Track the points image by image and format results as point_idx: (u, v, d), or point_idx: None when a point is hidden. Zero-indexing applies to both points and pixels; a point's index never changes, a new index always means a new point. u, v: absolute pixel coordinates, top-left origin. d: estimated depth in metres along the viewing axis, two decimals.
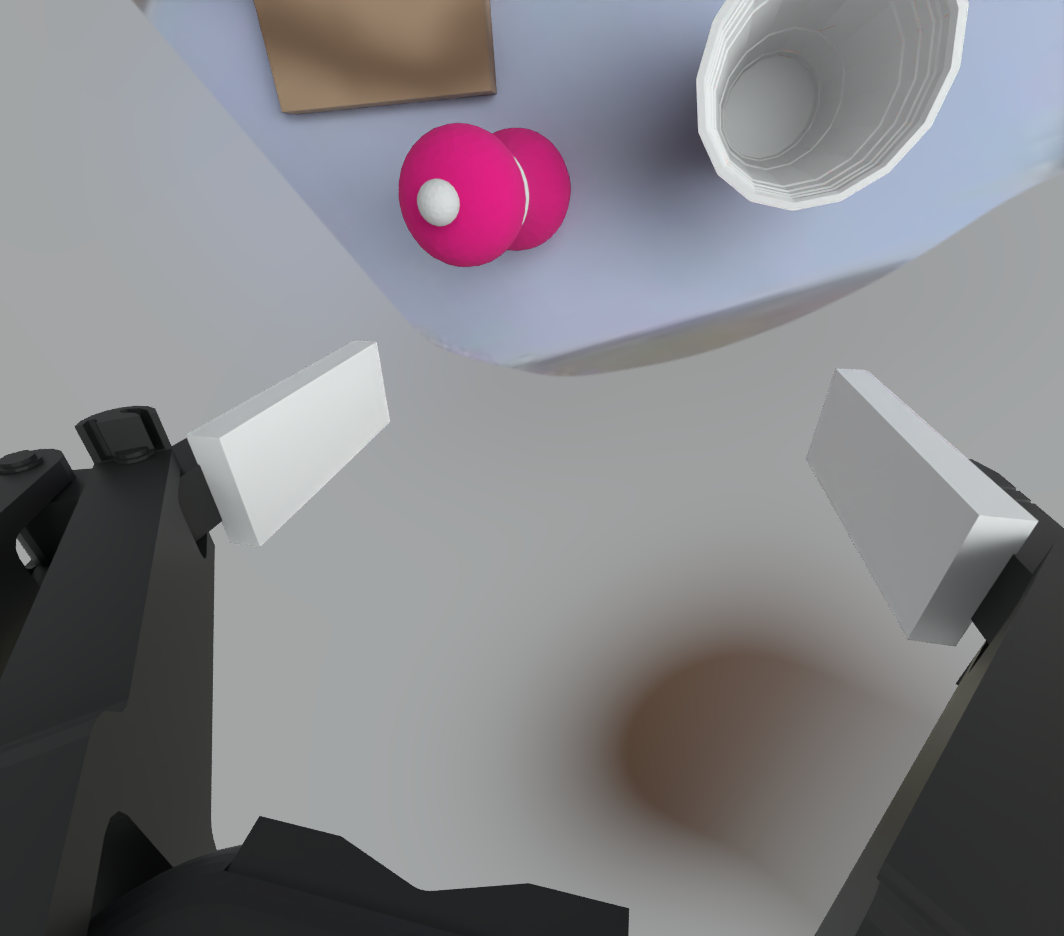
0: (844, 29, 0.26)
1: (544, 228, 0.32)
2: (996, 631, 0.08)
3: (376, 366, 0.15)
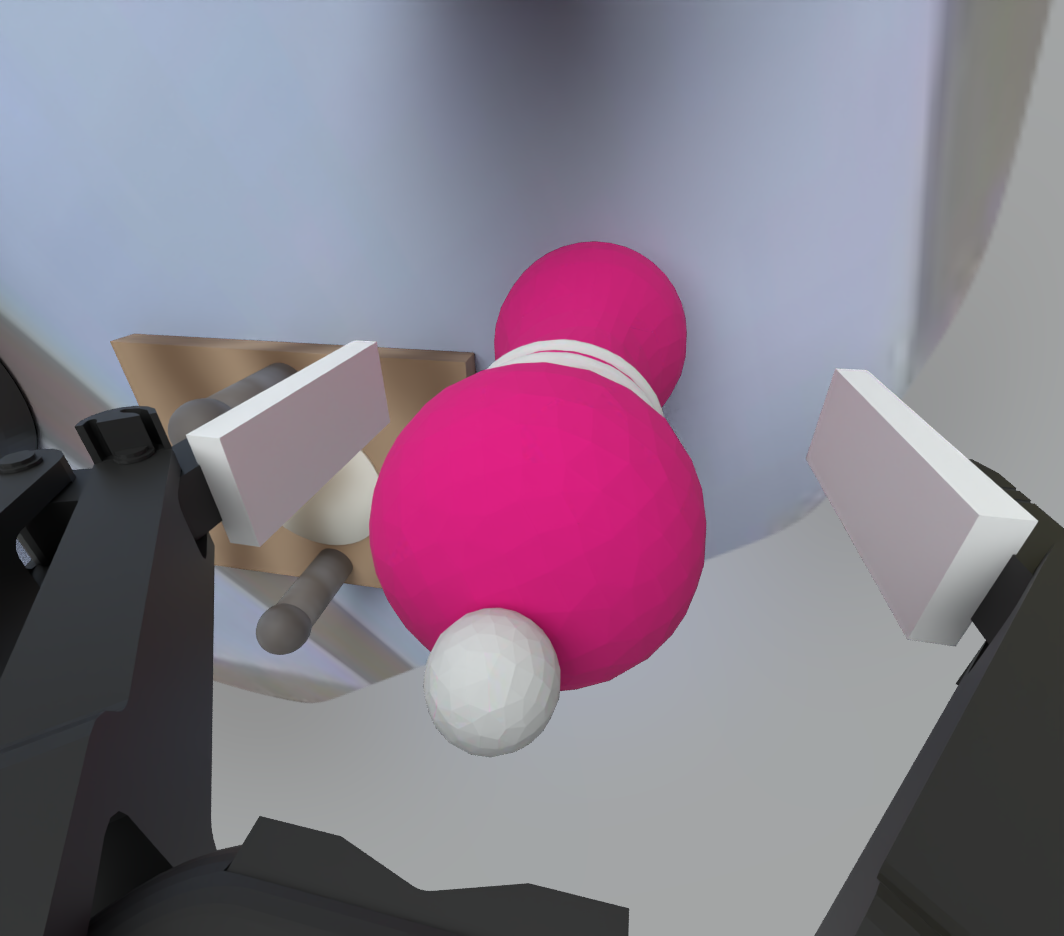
0: None
1: (652, 299, 0.15)
2: (996, 631, 0.08)
3: (376, 366, 0.15)
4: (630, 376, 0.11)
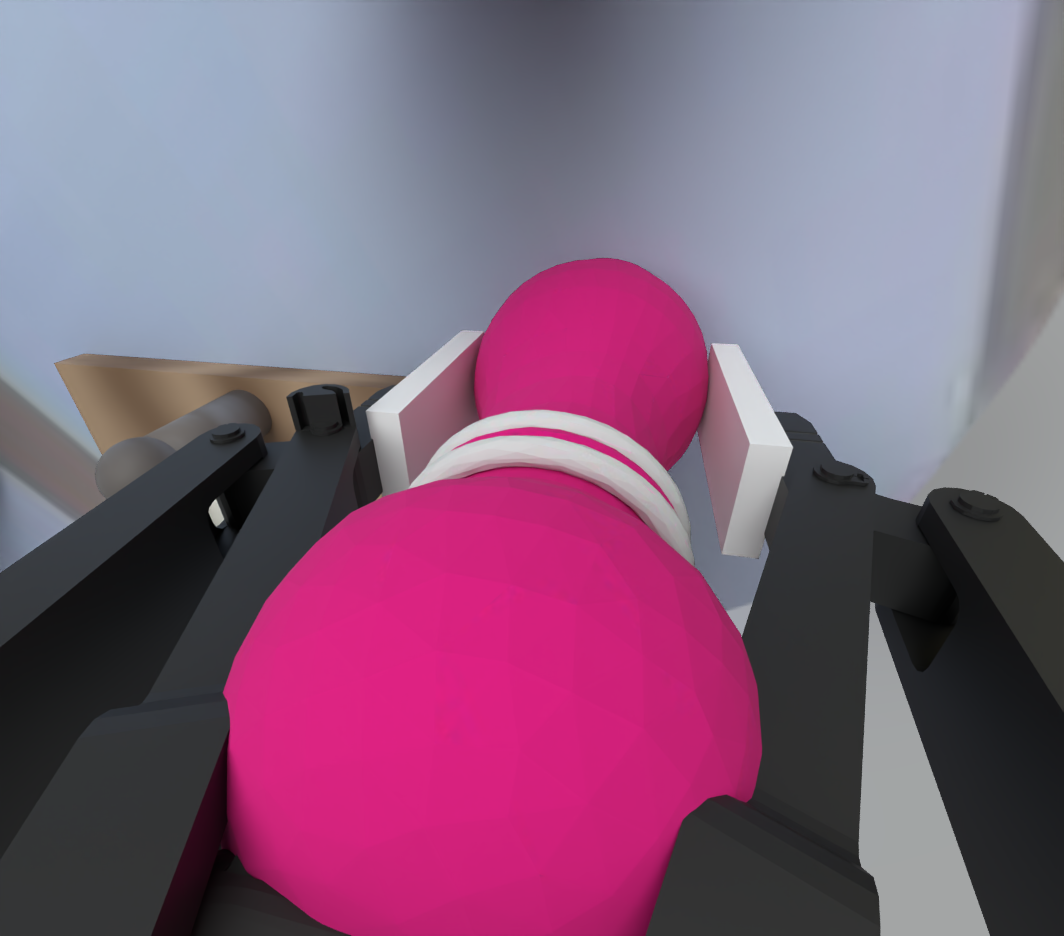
0: None
1: (668, 334, 0.12)
2: None
3: None
4: (641, 464, 0.07)
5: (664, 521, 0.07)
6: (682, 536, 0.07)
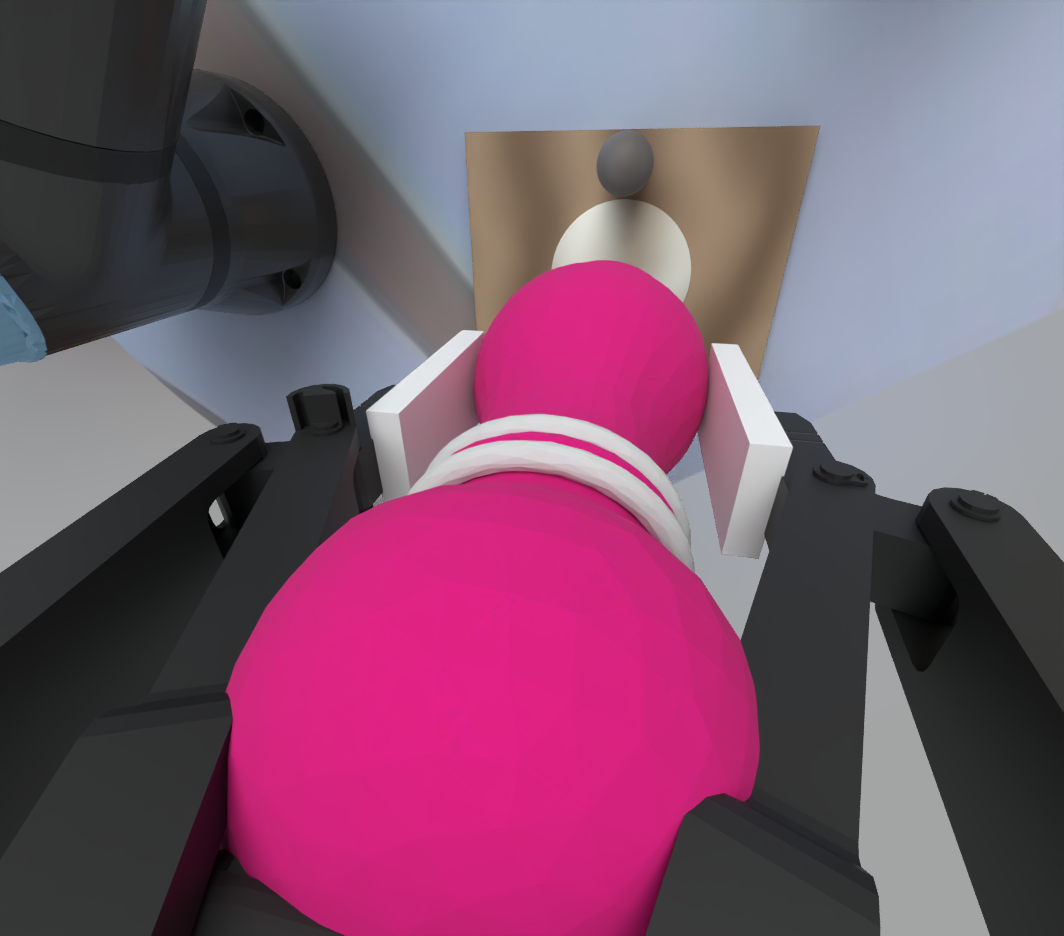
0: None
1: (668, 337, 0.12)
2: None
3: None
4: (641, 468, 0.08)
5: (664, 526, 0.07)
6: (682, 541, 0.07)
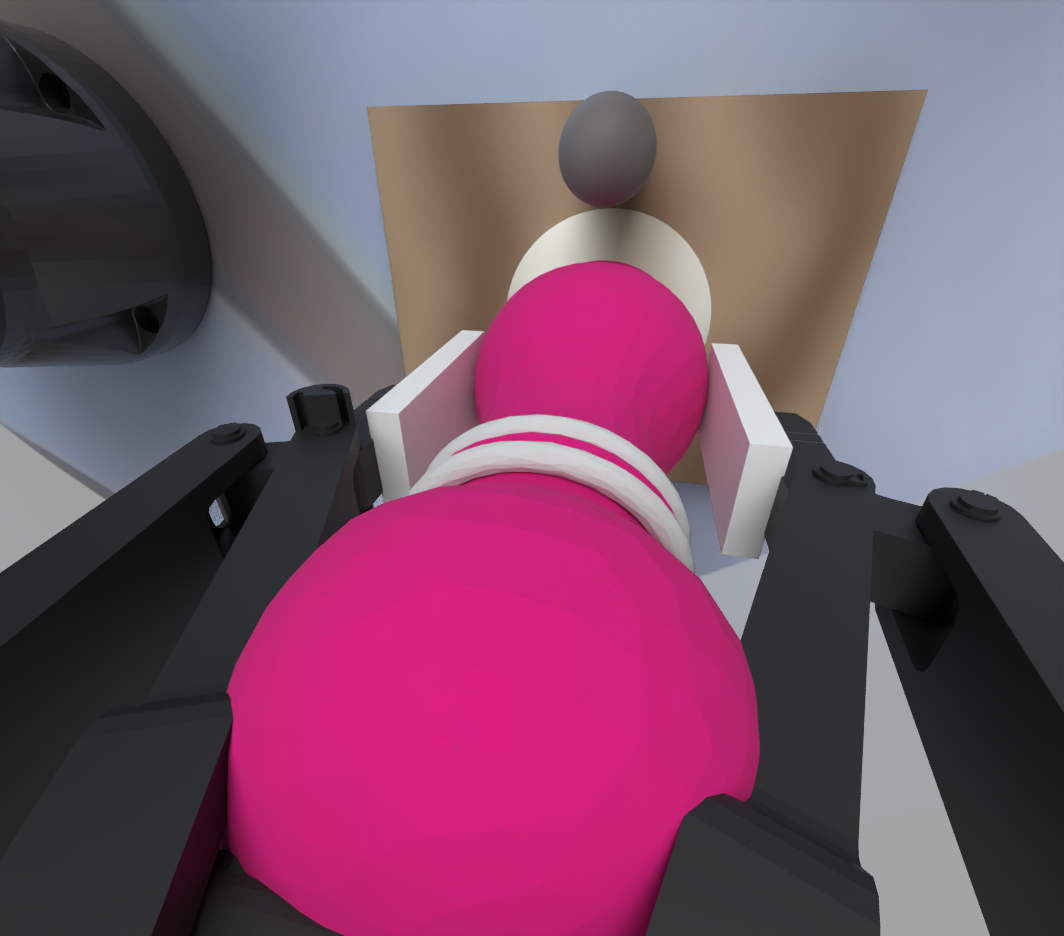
0: None
1: (668, 337, 0.12)
2: None
3: None
4: (641, 469, 0.08)
5: (664, 526, 0.07)
6: (682, 541, 0.07)
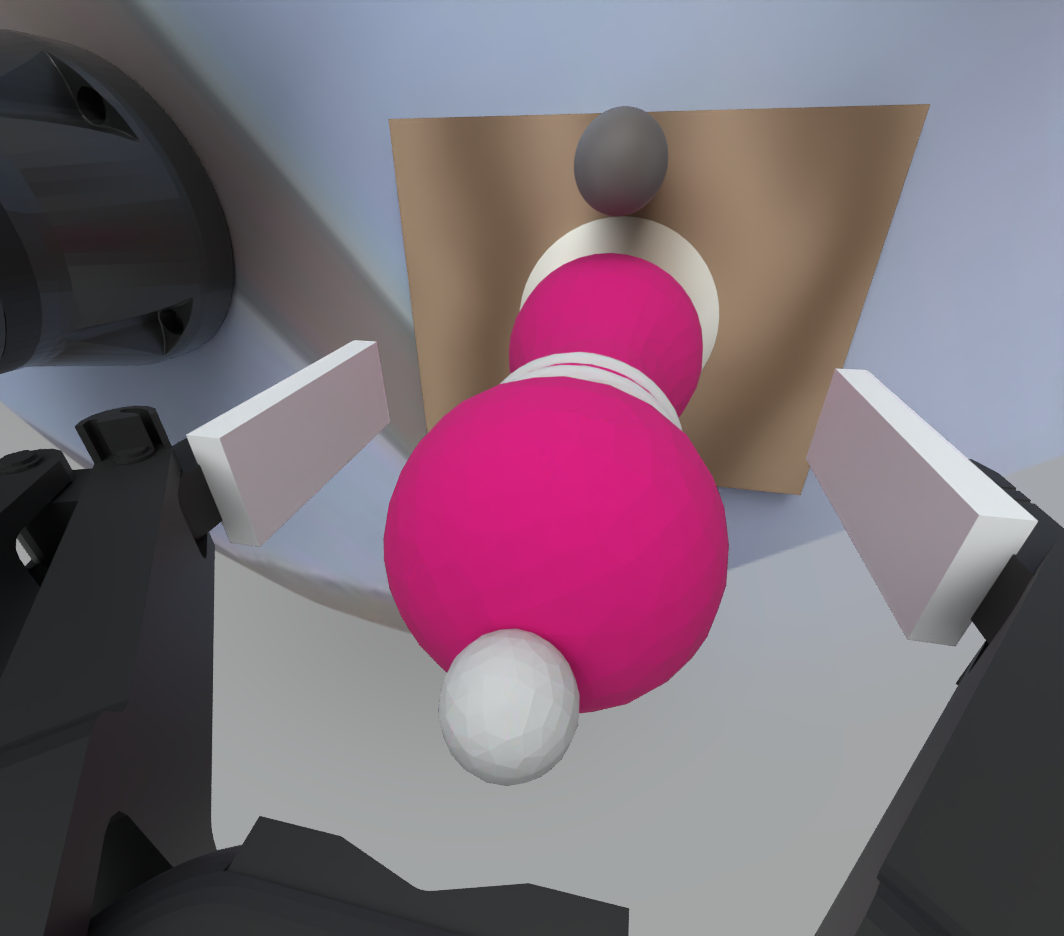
0: None
1: (670, 310, 0.15)
2: (996, 631, 0.08)
3: (376, 366, 0.15)
4: (648, 390, 0.11)
5: None
6: None
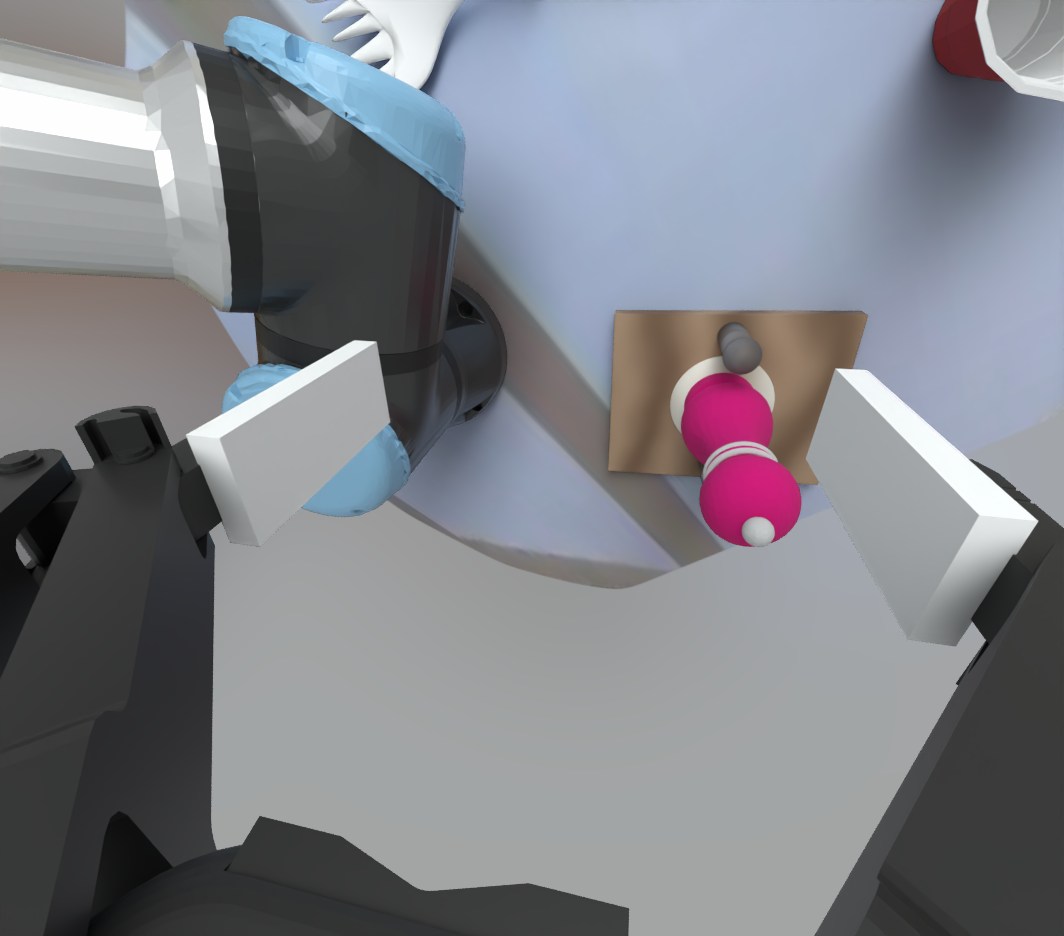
0: None
1: (762, 412, 0.38)
2: (996, 631, 0.08)
3: (376, 366, 0.15)
4: (769, 453, 0.33)
5: None
6: None
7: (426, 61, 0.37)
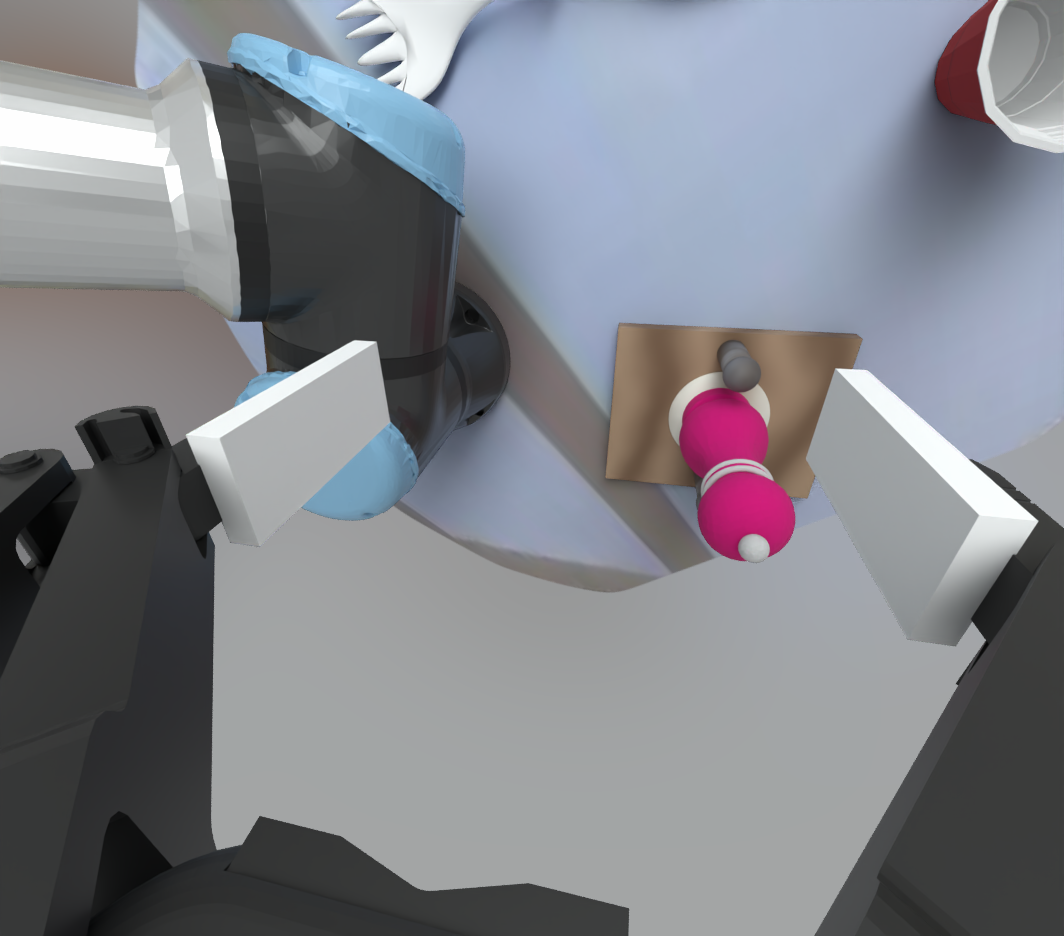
0: None
1: (759, 429, 0.39)
2: (996, 631, 0.08)
3: (376, 366, 0.15)
4: (765, 471, 0.34)
5: None
6: None
7: (439, 66, 0.37)
